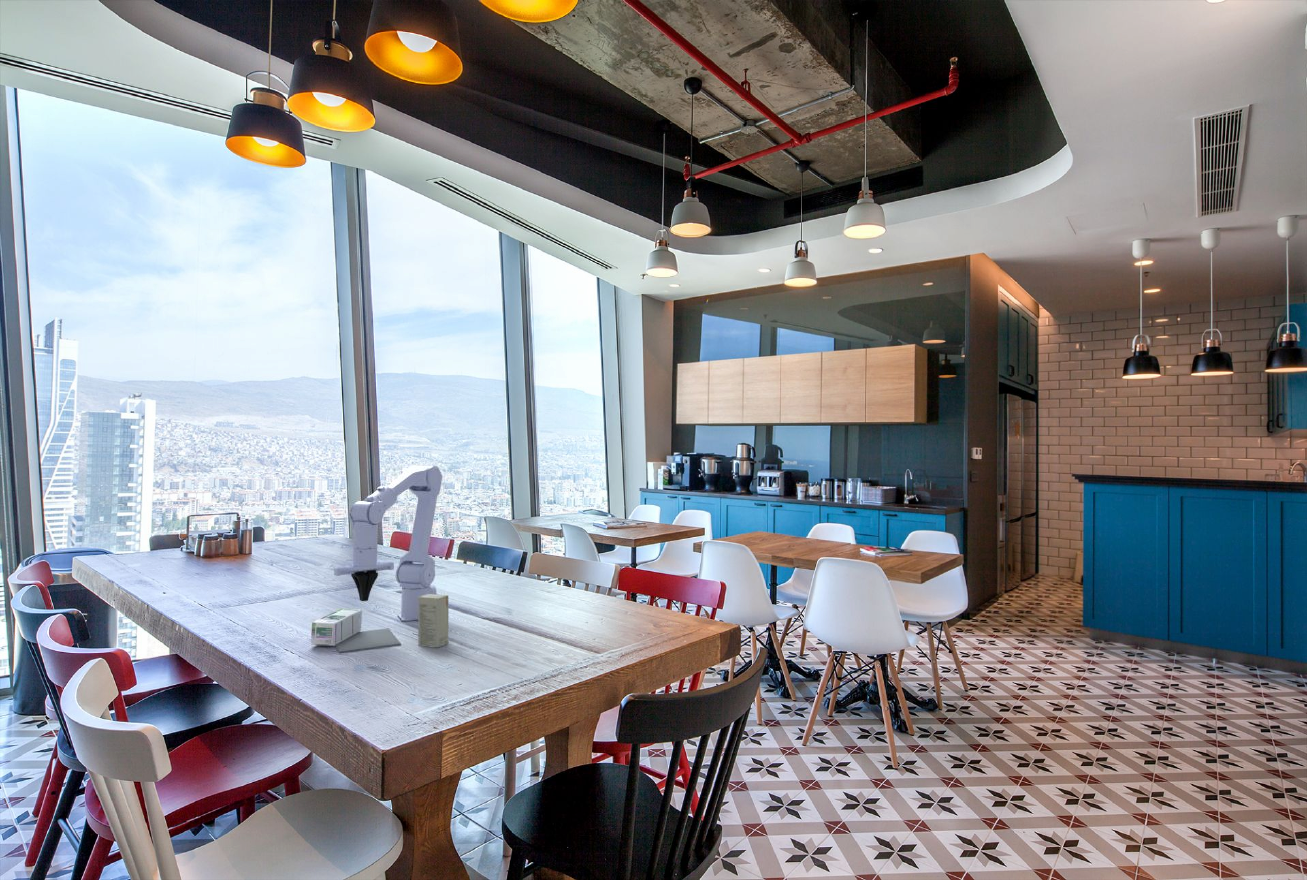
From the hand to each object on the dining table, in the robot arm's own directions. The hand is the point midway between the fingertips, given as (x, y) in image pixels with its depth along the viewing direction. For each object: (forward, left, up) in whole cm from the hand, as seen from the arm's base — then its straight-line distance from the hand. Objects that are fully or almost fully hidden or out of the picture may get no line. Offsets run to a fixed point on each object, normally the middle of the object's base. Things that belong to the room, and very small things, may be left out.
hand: (363, 600), depth 171 cm
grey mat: (0, +4, -9) cm, 10 cm away
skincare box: (-14, +15, -10) cm, 23 cm away
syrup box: (+2, -7, -6) cm, 9 cm away
